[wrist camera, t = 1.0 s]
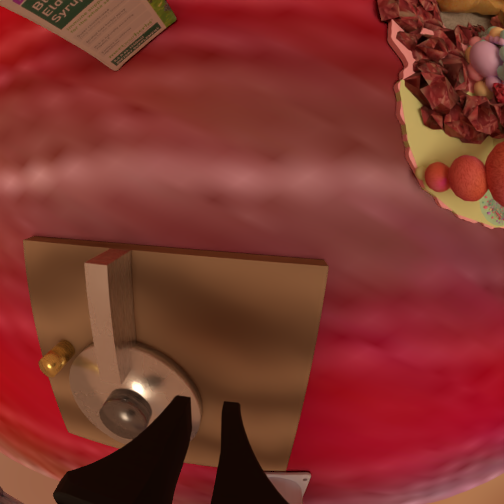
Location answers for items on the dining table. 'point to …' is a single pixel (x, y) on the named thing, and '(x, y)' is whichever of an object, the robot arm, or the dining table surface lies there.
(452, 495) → the dining table surface
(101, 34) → the syrup box
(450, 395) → the dining table surface
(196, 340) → the base board
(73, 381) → the lever handle
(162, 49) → the dining table surface
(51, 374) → the gold metal knob
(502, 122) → the candy landscape model
